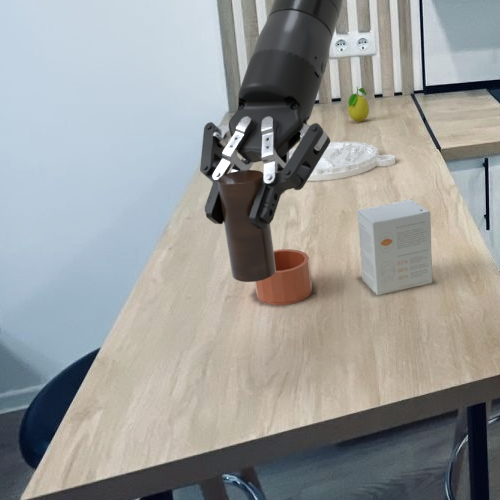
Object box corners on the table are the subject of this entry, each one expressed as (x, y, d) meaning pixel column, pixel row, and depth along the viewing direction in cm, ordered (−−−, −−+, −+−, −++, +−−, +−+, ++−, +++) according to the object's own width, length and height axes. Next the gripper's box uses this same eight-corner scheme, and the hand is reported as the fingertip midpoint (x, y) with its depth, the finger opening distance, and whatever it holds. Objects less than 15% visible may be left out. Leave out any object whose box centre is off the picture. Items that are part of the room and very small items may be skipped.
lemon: (368, 118, 184) (365, 82, 180) (374, 122, 179) (372, 85, 175) (344, 122, 184) (342, 86, 180) (350, 126, 178) (347, 89, 174)
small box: (414, 269, 92) (412, 198, 88) (433, 284, 87) (431, 210, 83) (361, 280, 91) (356, 209, 87) (376, 297, 86) (372, 222, 82)
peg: (284, 266, 66) (272, 170, 62) (260, 284, 63) (246, 185, 59) (248, 261, 69) (234, 168, 65) (223, 278, 65) (208, 182, 62)
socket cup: (321, 285, 91) (318, 252, 89) (294, 310, 85) (290, 276, 84) (275, 278, 95) (271, 246, 93) (246, 301, 90) (241, 268, 88)
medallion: (291, 152, 160) (290, 143, 160) (403, 149, 150) (403, 138, 149) (258, 182, 141) (257, 171, 140) (385, 180, 130) (384, 169, 130)
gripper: (210, 50, 67) (154, 200, 63) (335, 42, 59) (281, 212, 55) (246, 92, 73) (197, 231, 69) (363, 89, 65) (317, 246, 61)
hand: (235, 222), depth 62 cm, fingers closed on peg, 4 cm apart
